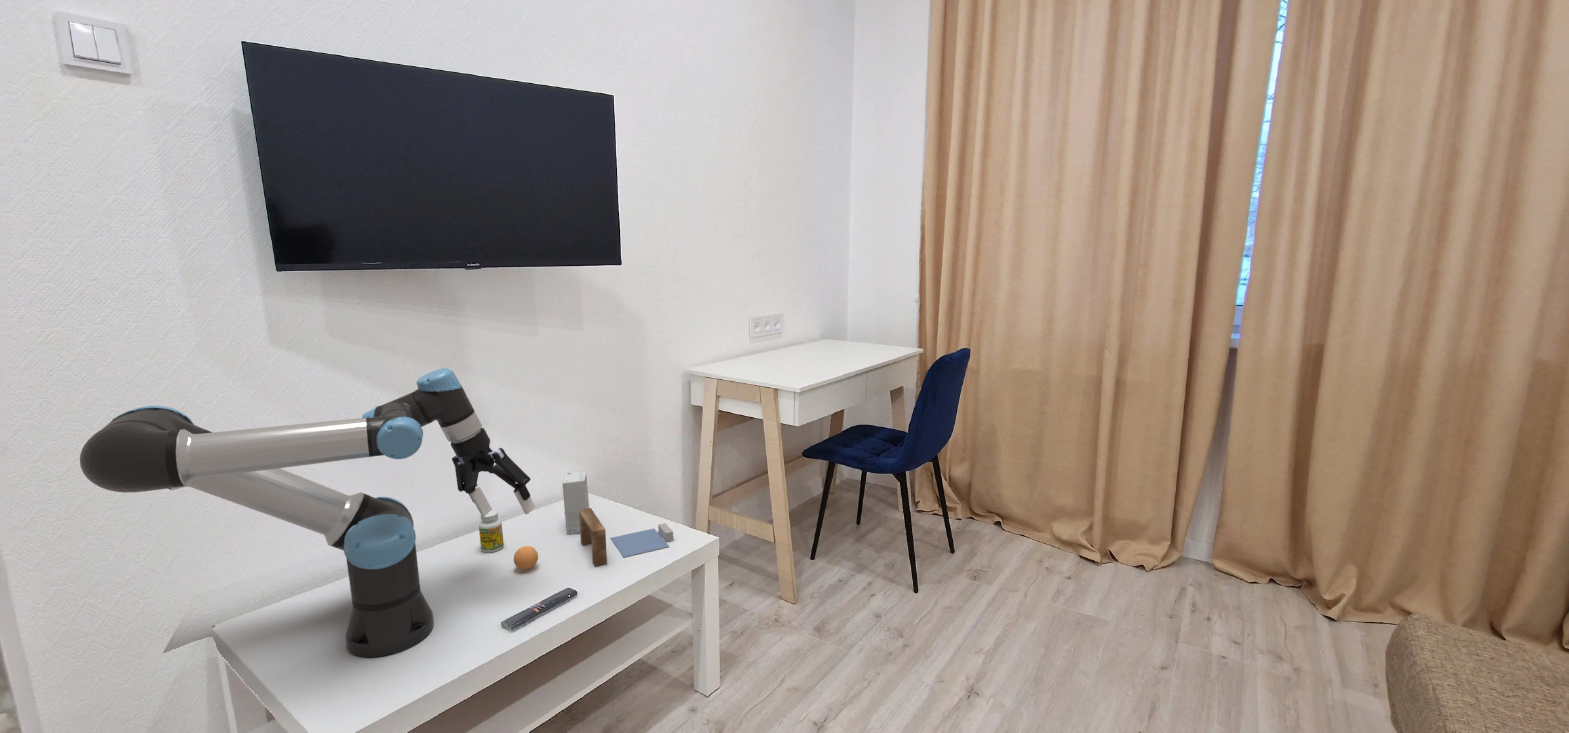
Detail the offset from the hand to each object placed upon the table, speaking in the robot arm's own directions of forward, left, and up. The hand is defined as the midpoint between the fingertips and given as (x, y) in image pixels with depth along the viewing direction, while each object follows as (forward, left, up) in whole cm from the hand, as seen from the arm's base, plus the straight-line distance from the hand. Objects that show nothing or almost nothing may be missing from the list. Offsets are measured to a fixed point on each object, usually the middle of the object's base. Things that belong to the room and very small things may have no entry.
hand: (508, 511), depth 153 cm
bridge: (+19, +1, -16) cm, 25 cm away
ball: (+3, +1, -13) cm, 13 cm away
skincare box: (+19, +18, -16) cm, 31 cm away
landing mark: (+31, +1, -16) cm, 35 cm away
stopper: (+38, +1, -16) cm, 41 cm away
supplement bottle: (-3, +16, -16) cm, 23 cm away
